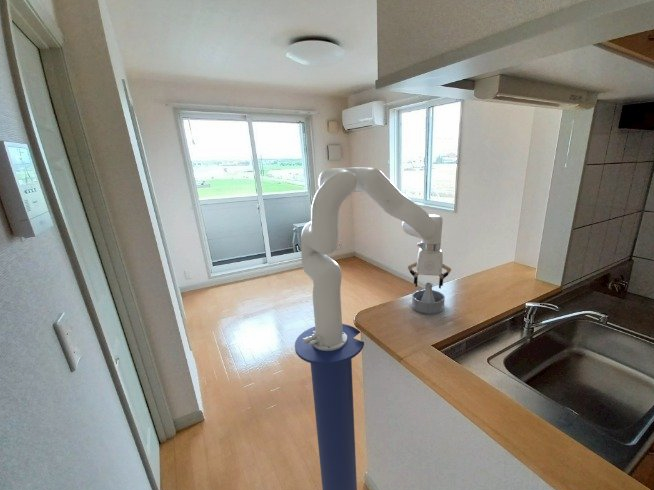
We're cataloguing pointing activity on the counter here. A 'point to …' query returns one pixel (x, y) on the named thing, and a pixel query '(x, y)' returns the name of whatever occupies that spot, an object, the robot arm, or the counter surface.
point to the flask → (428, 294)
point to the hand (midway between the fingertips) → (427, 286)
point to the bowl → (428, 307)
